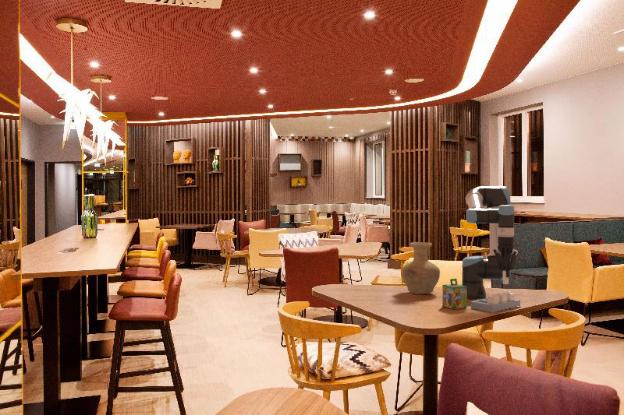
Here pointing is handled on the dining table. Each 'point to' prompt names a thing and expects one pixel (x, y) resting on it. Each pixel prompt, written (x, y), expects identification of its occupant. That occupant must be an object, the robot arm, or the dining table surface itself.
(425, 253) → the vase
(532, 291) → the dining table surface
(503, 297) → the tab
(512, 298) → the tab
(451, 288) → the chalk box
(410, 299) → the dining table surface
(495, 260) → the robot arm
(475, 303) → the switch bank
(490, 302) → the tab
